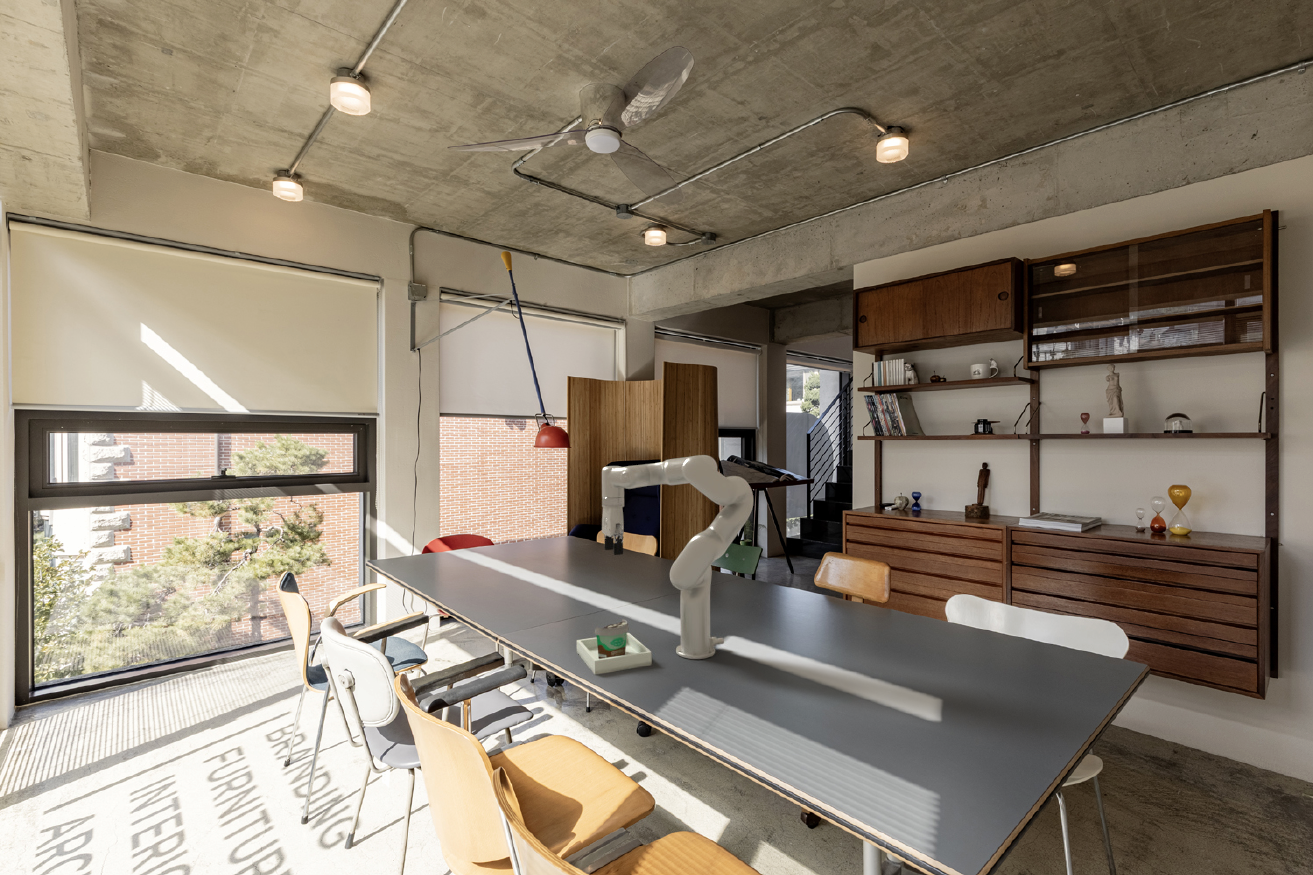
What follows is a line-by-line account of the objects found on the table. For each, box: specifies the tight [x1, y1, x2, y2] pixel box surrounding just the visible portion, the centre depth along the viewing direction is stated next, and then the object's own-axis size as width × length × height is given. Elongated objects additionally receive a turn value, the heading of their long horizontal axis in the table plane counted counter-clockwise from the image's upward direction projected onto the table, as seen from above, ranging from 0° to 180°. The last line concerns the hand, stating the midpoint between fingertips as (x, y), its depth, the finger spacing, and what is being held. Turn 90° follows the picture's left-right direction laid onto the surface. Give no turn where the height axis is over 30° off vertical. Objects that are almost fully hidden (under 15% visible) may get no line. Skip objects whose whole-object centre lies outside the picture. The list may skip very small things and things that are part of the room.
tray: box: [576, 632, 653, 676], centre depth 190 cm, size 18×20×4 cm
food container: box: [594, 618, 630, 659], centre depth 189 cm, size 12×6×10 cm, turn 136°
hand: (613, 552), depth 207 cm, fingers open, 9 cm apart
